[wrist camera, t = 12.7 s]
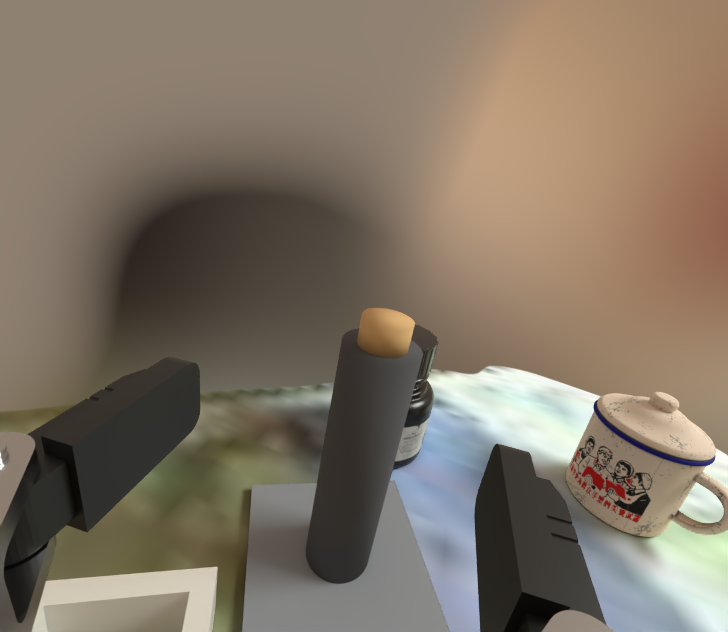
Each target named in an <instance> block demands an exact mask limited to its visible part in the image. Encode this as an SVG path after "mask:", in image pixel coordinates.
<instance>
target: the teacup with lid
mask: <svg viewBox="0 0 728 632" xmlns="http://www.w3.org/2000/svg"><path fill="white" fill-rule="evenodd" d="M678 407H679V402H678V401H677V400H676V399H675V398H674V397H672V396H670V395H668V394H665V393H662V392H655V393H653V394H652V395H651V397H650V398H648V397H641V396H631V395H626V394H617V393H613V394H607V395H604V396H602V397H600V398H599V399H598V400H597V401H596V402H595V403H594V413H593V415H592V417H591V419H590V421H589V423H588V425H587V428H586V430H585V432H584V434H583V436H582V438H581V441H580V443H579V445H578V447H577V449H576V451H575V453H574V456H573V458H572V460H571V462H570V464H569V466H568V469H567V471H566V481H567V484H568V486H569V488H570V490H571V492H572V493H573V495H574V496H575V497H576V499H577V500H578V501H579V502H580V503H581V504H582V505H583V506H584V507H585V508H586V509H587V510H589V511H590V512H591V513H592V514H594V515H595V516H596V517H598V518H599V519H601V520H602V521H604V522H605V523H607V524H609V525H611V526H613V527H615V528H617V529H619V530H621V531H624V532H626V533H630V534H633V535H637V536H643V537H654V536H658V535H660V534H662V533H663V532H664V531H665V530H666V529H667V527H668V526H669V524H670V523H671V521H674V522H675V523H677V524H678V525H680V526H682V527H683V528H685V529H687V530H689V531H691V532H694V533H697V534H702V535H714V534H719V533H722V532H725V531H726V530H728V489H727V488H726V487H725V486H723V485H722V484H721V483H719V482H718V481H716V480H715V479H713V478H712V477H710V476H708V475H707V474H705V473H703V472H702V471H703V470H704V468H705V467H706V466H707V465H710V464H712V463H713V462H714V460H715V453H716V451H715V446H714V444H713V442H712V440H711V439H710V438H709V436H708V435H707V434H706V433H705V432H704V431H703V430H701V429H700V428H699V427H698V426H696V425H695V424H693V423H692V422H691V421H689V420H688V419H687V418H686V417H685V416H684V415H683V414H682V413H681V412H680V411H678V410H677V409H678ZM696 482H697V483H699V484H701V485H702V486H704V487H705V488H707V489H708V490H710V491H711V492H712V493H714V494H715V495H716V496H717V497H718V499H719V500H720V501H721V503H722V505H723V508H724V515H723V517H722V519H721V520H720V521H719V522H715V523H701V522H698V521H695V520H693V519H691V518H689V517H687V516H686V515H684V514H683V513H681V512H680V511H679V508H680V507H681V505H682V503H683V502H684V500H685V499H686V497H687V495H688V494H689V492H690V491H691V489H692V487H693V486H694V484H695V483H696Z"/></svg>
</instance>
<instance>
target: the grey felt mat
mask: <svg viewBox="0 0 728 632" xmlns="http://www.w3.org/2000/svg"><path fill="white" fill-rule="evenodd" d="M316 486H317V483H306V484H275V485H252V492H251V507H250V522H249V536H248V551H247V566H246V581H245V595H244V610H243V625H242V632H450V631H449V628H448V625H447V623H446V620H445V617H444V614H443V612H442V609H441V606H440V603H439V601H438V598H437V595H436V592H435V590H434V587H433V584H432V582H431V579H430V576H429V573H428V571H427V568H426V565H425V562H424V560H423V557H422V554H421V551H420V549H419V546H418V543H417V540H416V538H415V535H414V532H413V530H412V527H411V524H410V521H409V519H408V516H407V513H406V510H405V508H404V505H403V502H402V499H401V497H400V494H399V491H398V489H397V486H396V483H395V481H389V485H388V489H387V493H386V496H385V500H384V504H383V508H382V511H381V515H380V519H379V523H378V527H377V530H376V534H375V538H374V542H373V545H372V549H371V553H370V557H369V560H368V564H367V567H366V569H365V570H364V572H363V573H362V574H361V575H360V576H359V577H358V578H357V579H355V580H353V581H351V582H348V583H343V584H335V583H330V582H327V581H325V580H323V579H321V578H320V577H318V576H317V575H316V574H315V573H314V572H313V571H312V569H311V568H310V566H309V564H308V562H307V559H306V543H307V538H308V532H309V526H310V520H311V515H312V509H313V503H314V497H315V492H316Z"/></svg>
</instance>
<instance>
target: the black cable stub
mask: <svg viewBox="0 0 728 632" xmlns="http://www.w3.org/2000/svg"><path fill="white" fill-rule="evenodd" d="M414 326H415V322H414V321H413V320H412V319H411V318H410V317H409V316H407V315H405V314H403V313H400V312H398V311H394V310H390V309H384V308H370V309H366V310H364V311H363V312H362V317H361V322H360V328H359V329H354V330H351V331H348V332H347V333H345V334H344V336H343V338H342V343H341V348H340V354H339V360H338V366H337V371H336V377H335V383H334V388H333V394H332V400H331V406H330V411H329V417H328V423H327V429H326V434H325V440H324V446H323V452H322V457H321V463H320V469H319V475H318V480H317V486H316V492H315V497H314V503H313V509H312V515H311V520H310V526H309V532H308V538H307V543H306V559H307V562H308V564H309V566H310V568H311V569H312V571H313V572H314V573H315V574H316V575H317V576H318V577H320V578H321V579H323V580H325V581H327V582H330V583H335V584H343V583H348V582H351V581H353V580H355V579H357V578H358V577H359V576H360V575H361V574H362V573H363V572H364V570H365V569H366V567H367V564H368V560H369V557H370V553H371V549H372V545H373V542H374V538H375V534H376V530H377V527H378V523H379V519H380V515H381V511H382V508H383V504H384V500H385V496H386V493H387V489H388V485H389V481H390V477H391V474H392V470H393V466H394V462H395V459H396V455H397V451H398V447H399V444H400V440H401V436H402V432H403V428H404V425H405V421H406V417H407V413H408V410H409V406H410V402H411V398H412V394H413V391H414V387H415V383H416V379H417V376H418V372H419V368H420V364H421V360H422V357H423V352H422V350H421V348H420V347H419V346H418V345H417V344H416V343H415V342H414V341H412V340H411V338H412V334H413V330H414Z"/></svg>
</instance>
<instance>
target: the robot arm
mask: <svg viewBox="0 0 728 632" xmlns="http://www.w3.org/2000/svg"><path fill="white" fill-rule="evenodd" d="M199 415H200V372H199V367H198V365H197V364H196V363H193V362H189V361H185V360H181V359H178V358H174V357H166V358H164V359H162V360H161V361H159V362H158V363H156V364H154V365H153V366H151V367H150V368H148V369H144V370H141V371H138V372H135V373H132V374H129V375H126V376H123V377H122V378H120V379H118V380H117V381H115V382H113V383H112V384H110V385H108V386H107V387H106V388H105V390H100V391H98V392H97V393H95V394H93V395H92V396H91V397H90V399H85V400H84V401H82V402H80V403H79V404H77V405H75V406H74V407H72V408H70V409H69V410H67V411H65V412H64V413H62V414H60V415H59V416H57V417H55V418H54V419H52V420H50V421H49V422H47V423H45V424H44V425H42V426H40V427H39V428H37V429H36V430H34V431H32V432H31V433H29V434H23V433H18V432H4V433H0V632H32V628H33V625H34V621H35V618H36V614H37V611H38V607H39V604H40V600H41V597H42V593H43V590H44V586H45V583H46V579H47V576H48V572H49V569H50V565H51V562H52V558H53V555H54V551H55V548H56V534H57V533H58V532H59V531H60V530H61V529H62V528H64V527H65V526H66V525H68V526H71V527H74V528H77V529H80V530H82V531H85V532H88V531H89V530H90V529H91V528H92V527H93V526H94V525H95V524H97V523H98V522H99V521H100V520H101V519H102V518H103V517H104V516H105V515H106V514H107V513H108V512H109V511H110V510H111V509H112V508H113V507H114V506H115V505H116V504H117V503H118V502H119V501H120V500H121V499H122V498H123V497H124V496H125V495H126V494H128V493H129V492H130V491H131V490H132V489H133V488H134V487H135V486H136V485H137V484H138V483H139V482H140V481H141V480H142V479H143V478H144V477H145V476H146V475H147V474H148V473H149V472H150V471H151V470H152V469H153V468H154V467H155V466H156V465H157V464H159V463H160V462H161V461H162V460H163V459H164V458H165V457H166V456H167V455H168V454H169V453H170V452H171V451H172V450H173V449H174V448H175V447H176V446H177V445H178V444H179V443H180V442H181V441H182V440H183V439H184V438H185V437H186V436H187V435H188V434H189V433H190V432H191V431H192V430H193V429H194V427H195V425H196V423H197V421H198V418H199ZM475 536H476V555H477V574H478V594H479V613H480V632H614V631H613V630H612V629H610V628H609V627H608V626H607V625H606V622H605V620H604V617H603V614H602V611H601V608H600V605H599V602H598V599H597V596H596V593H595V590H594V587H593V584H592V581H591V578H590V575H589V572H588V569H587V566H586V563H585V559H584V556H583V553H582V550H581V547H580V545H578V538H577V535H576V532H575V529H574V527H573V526H572V520H571V517H570V514H569V511H568V508H567V505H566V502H565V500H564V499H563V498H562V496H561V495H560V494H559V492H558V491H557V490H556V488H555V487H554V486H553V484H552V483H551V482H550V481H549V480H546V479H542V478H538V477H536V474H535V470H534V466H533V462H532V458H531V455H530V453H529V452H526V451H522V450H519V449H515V448H511V447H507V446H504V445H500V444H496V445H495V446H494V448H493V450H492V453H491V455H490V458H489V461H488V464H487V467H486V470H485V473H484V476H483V478H482V481H481V484H480V487H479V490H478V494H477V498H476V504H475Z"/></svg>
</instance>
